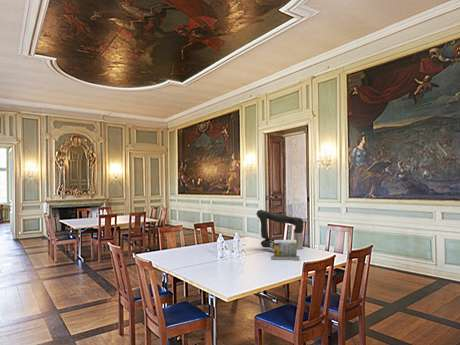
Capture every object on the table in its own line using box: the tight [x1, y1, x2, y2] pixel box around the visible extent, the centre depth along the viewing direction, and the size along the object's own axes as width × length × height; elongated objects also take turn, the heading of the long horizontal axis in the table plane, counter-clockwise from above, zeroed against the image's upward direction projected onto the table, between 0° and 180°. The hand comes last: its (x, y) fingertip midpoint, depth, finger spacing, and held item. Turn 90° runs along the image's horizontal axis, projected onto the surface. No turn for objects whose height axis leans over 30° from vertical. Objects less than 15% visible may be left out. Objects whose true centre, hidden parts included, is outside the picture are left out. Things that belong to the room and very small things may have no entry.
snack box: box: [273, 239, 298, 256], centre depth 309 cm, size 21×6×15 cm, turn 84°
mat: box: [270, 255, 301, 261], centre depth 301 cm, size 16×26×1 cm, turn 81°
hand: (286, 247), depth 313 cm, fingers closed
